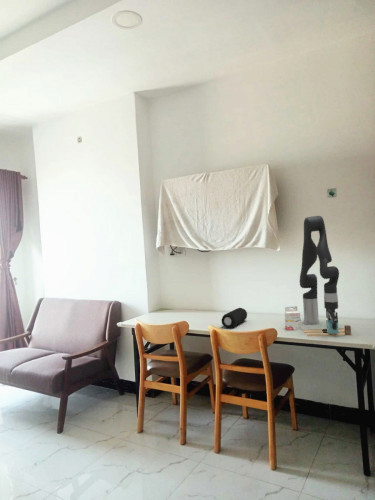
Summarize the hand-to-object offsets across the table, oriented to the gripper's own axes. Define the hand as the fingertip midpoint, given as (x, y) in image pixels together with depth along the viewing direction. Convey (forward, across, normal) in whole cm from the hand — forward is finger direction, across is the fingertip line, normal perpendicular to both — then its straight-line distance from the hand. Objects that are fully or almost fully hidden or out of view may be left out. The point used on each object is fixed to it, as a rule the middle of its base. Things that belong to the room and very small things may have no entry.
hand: (332, 327), depth 209 cm
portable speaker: (+5, -35, -56) cm, 66 cm away
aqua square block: (+3, 0, 0) cm, 3 cm away
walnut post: (+4, +2, +8) cm, 9 cm away
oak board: (+4, -4, -2) cm, 6 cm away
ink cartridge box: (+4, -14, -20) cm, 25 cm away
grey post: (+4, 0, 0) cm, 4 cm away
